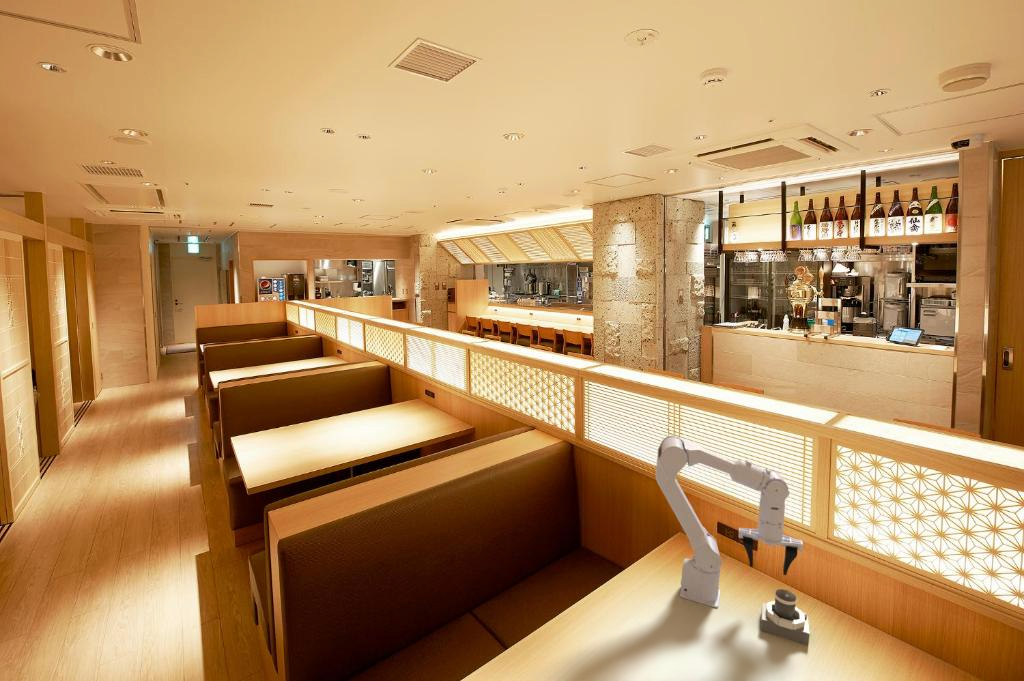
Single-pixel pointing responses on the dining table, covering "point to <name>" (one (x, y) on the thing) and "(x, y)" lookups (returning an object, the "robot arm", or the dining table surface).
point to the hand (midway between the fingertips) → (767, 568)
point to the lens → (785, 604)
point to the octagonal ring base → (785, 624)
